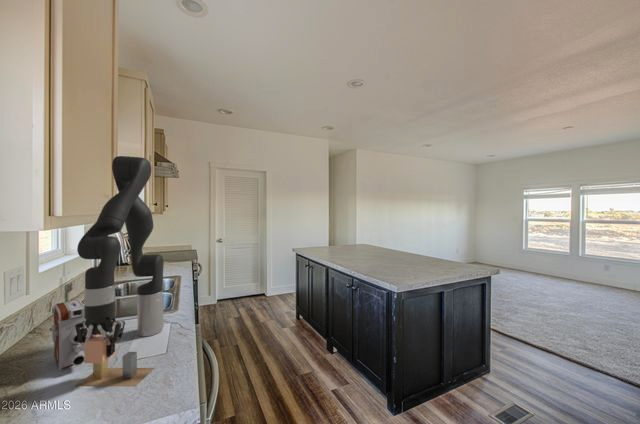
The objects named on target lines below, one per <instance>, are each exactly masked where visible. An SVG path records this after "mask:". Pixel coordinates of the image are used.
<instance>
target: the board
mask: <svg viewBox="0 0 640 424" xmlns="http://www.w3.org/2000/svg"><path fill="white" fill-rule="evenodd" d="M154 370H155V367H137V374H136V375H135V376H134V377H133V378H132V379H123V367H108V375H106V376H105V377H104V378H102V379H93V372H92V373H91V374H89V375H88V376H86V377H85V378H83V379H82V380H81V381H80V382H78V383H77V384H76V385H75V387H137V386H138V385H139V384H140V383H141V382H142V381H143V380H145V378H147V376H148V375H150V373H152V372H153V371H154Z"/></svg>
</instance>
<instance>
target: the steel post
mask: <svg viewBox="0 0 640 424" xmlns="http://www.w3.org/2000/svg"><path fill="white" fill-rule="evenodd" d="M137 355H138V353H137V351H128V352H126V353H124V355H122V360H121V361H122V368H123V379H132V378H133V377H134V376H135V375H136V374H137V368H138V356H137Z"/></svg>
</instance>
